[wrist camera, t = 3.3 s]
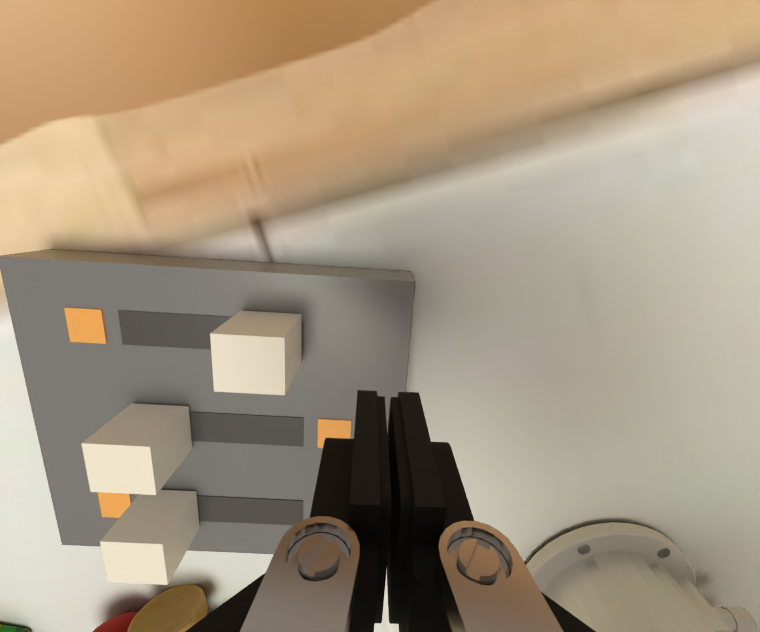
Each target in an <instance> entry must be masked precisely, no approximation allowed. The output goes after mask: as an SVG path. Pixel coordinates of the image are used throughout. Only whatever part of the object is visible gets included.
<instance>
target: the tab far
mask: <svg viewBox="0 0 760 632" xmlns="http://www.w3.org/2000/svg"><path fill="white" fill-rule="evenodd" d="M199 528H200V526H199V516H198V505H197V494H196V491H176V490H160V491H159V492H158V493H157V495H145V494H139V495H138V496H137V497H136V499H135V500H134V501H133V502H132V503H131V505H130V506H129V507H128V508H127V509H126V511H125V512H124V513H123V514H122V515H121V517H120V518H119V519H118V520H117V521H116V523H115V524H114V525H113V526H112V527H111V529H110V530H109V531H108V532H107V533H106V535H105V536H104V537H103V538H102V539H101V541H100V545H101V551H102V556H103V561H104V567H105V572H106V577H107V582H113V583H137V584H160V585H168V583H169V582H170V580H171V578H172V576H173V574H174V573H175V571H176V569H177V567H178V565H179V564H180V562H181V560H182V558H183V556H184V555H185V553H186V551H187V549H188V548H189V546H190V544H191V542H192V540H193V539H194V537H195V535H196V533H197V531H198V530H199Z"/></svg>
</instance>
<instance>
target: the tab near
mask: <svg viewBox="0 0 760 632" xmlns="http://www.w3.org/2000/svg"><path fill="white" fill-rule="evenodd" d="M301 328H302V314H292V313H275V312H258V311H239V312H238V313H237V314H235V315H234V316H233V317H231V318H230V319H229V320H227V321H226V322H225V323H223V324H222V325H221V326H219V327H218V328H217V329H215V330H214V331H213V332H211V333H210V341H211V355H212V369H213V384H214V392H231V393H250V394H269V395H286V393H287V391H288V388H289V386H290V384H291V382H292V380H293V378H294V376H295V374H296V372H297V370H298V368H299V366H300V364H301Z"/></svg>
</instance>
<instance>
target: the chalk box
mask: <svg viewBox="0 0 760 632" xmlns="http://www.w3.org/2000/svg"><path fill="white" fill-rule="evenodd" d="M0 632H31V630H30V629H28V628H21V627H15V626H8V625H2V624H0Z"/></svg>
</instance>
